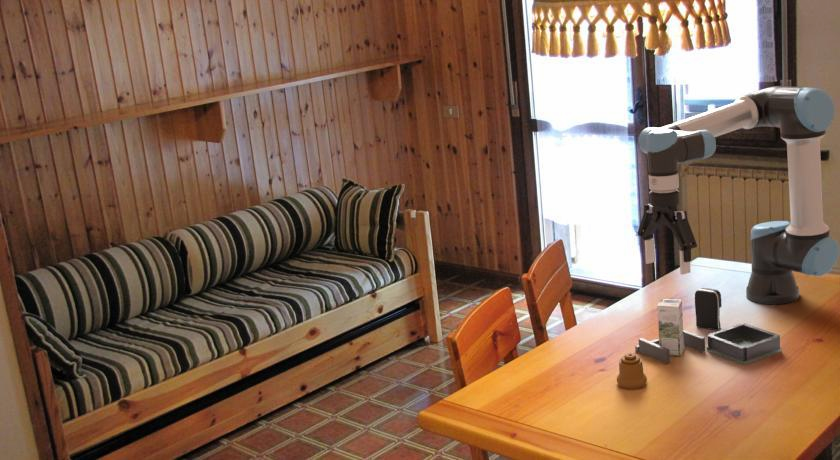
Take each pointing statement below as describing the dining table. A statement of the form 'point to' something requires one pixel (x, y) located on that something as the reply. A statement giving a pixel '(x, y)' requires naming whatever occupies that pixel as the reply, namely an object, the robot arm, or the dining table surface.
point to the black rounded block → (708, 308)
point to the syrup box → (671, 325)
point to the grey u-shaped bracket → (663, 354)
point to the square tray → (744, 343)
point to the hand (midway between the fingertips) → (667, 267)
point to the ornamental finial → (631, 372)
